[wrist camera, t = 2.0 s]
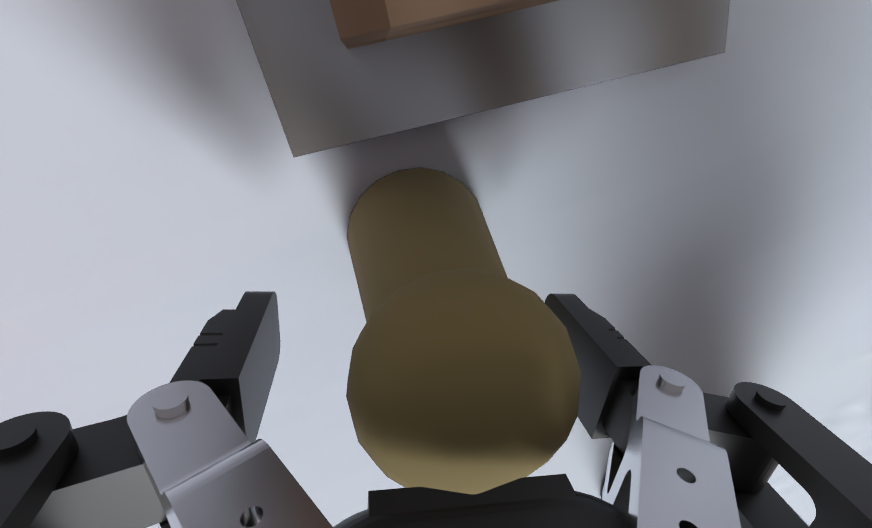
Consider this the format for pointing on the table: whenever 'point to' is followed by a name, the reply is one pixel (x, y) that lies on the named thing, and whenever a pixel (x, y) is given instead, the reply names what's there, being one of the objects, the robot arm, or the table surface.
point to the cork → (450, 344)
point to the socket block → (455, 56)
